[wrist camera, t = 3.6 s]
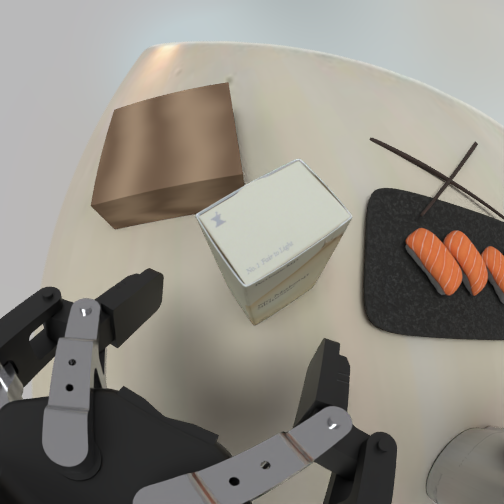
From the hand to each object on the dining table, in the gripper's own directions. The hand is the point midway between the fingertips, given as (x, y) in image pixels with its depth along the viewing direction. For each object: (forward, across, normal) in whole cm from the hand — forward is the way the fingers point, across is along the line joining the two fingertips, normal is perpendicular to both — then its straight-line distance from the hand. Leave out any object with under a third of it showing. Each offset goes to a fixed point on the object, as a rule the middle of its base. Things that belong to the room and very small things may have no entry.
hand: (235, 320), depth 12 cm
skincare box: (+11, 0, +4) cm, 12 cm away
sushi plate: (+22, -20, -7) cm, 31 cm away
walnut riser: (+17, +14, -2) cm, 22 cm away
